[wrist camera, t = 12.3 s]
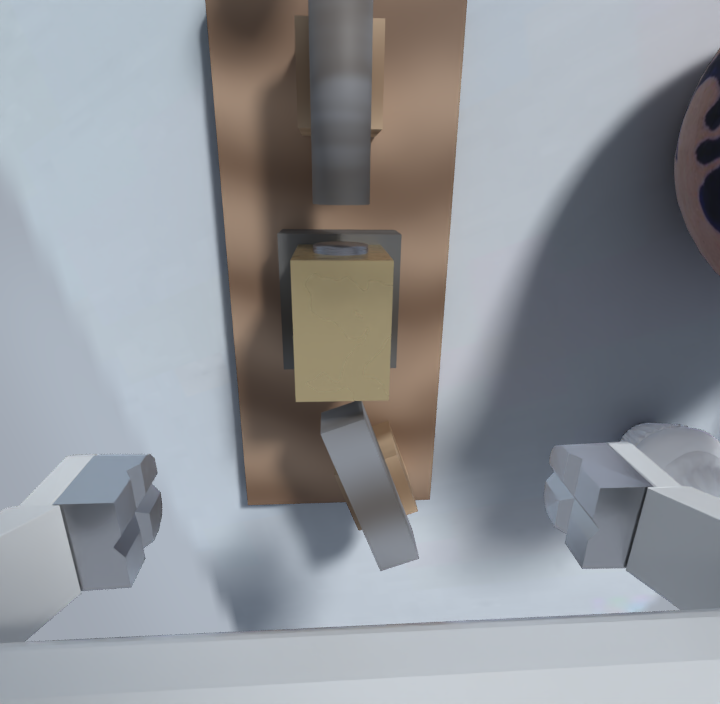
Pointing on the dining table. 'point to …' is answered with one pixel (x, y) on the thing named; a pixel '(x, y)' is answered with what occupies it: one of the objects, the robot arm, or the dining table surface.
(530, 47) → the dining table surface
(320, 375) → the tan rectangular block
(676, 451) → the white rounded piece
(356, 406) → the shaft stand
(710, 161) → the ceramic pitcher
